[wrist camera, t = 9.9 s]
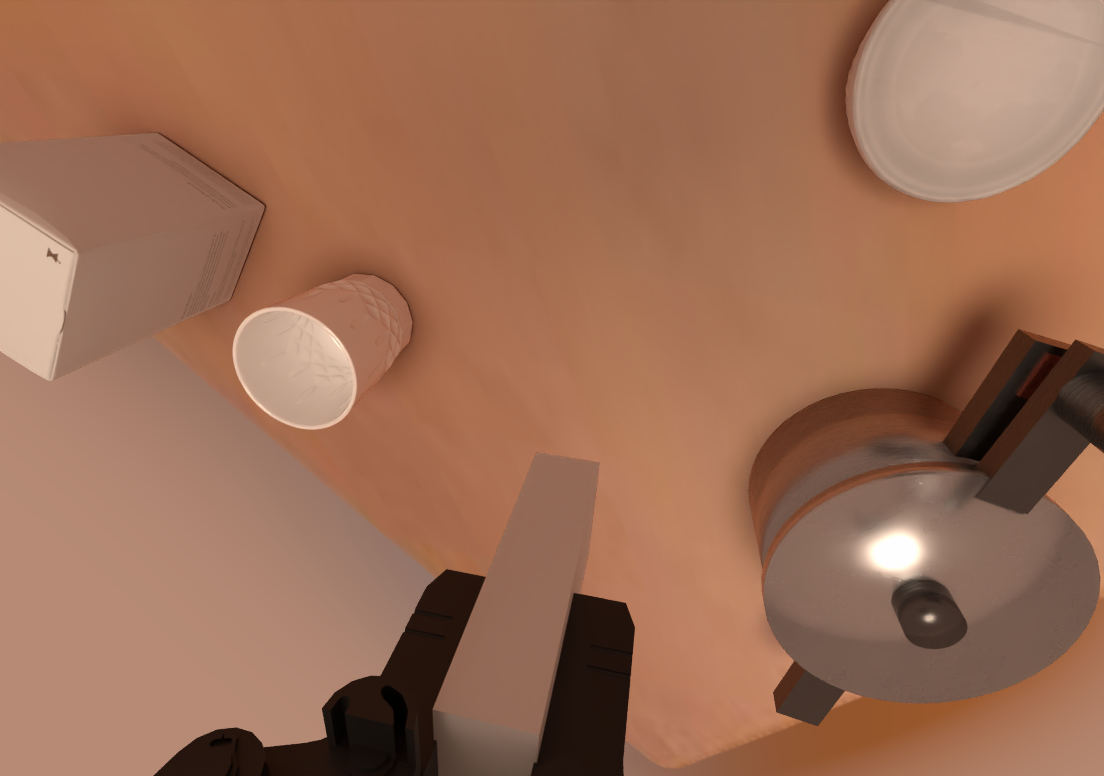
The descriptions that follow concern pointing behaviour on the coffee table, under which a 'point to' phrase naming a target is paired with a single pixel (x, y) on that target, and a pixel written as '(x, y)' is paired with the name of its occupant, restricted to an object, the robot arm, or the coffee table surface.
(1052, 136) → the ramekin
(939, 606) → the lid
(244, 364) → the white cup
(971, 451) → the pot
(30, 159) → the supplement box
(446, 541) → the coffee table surface
